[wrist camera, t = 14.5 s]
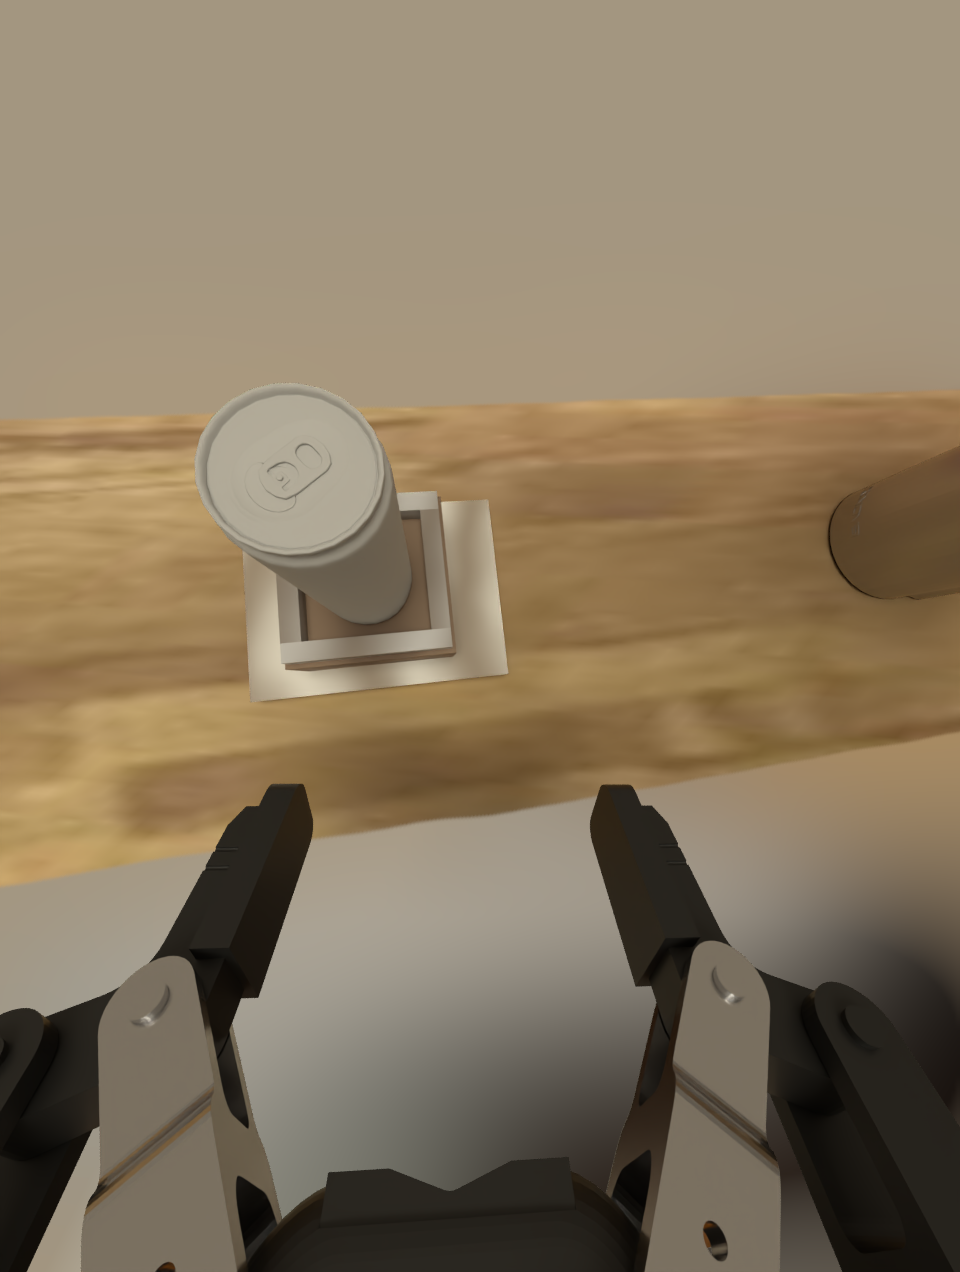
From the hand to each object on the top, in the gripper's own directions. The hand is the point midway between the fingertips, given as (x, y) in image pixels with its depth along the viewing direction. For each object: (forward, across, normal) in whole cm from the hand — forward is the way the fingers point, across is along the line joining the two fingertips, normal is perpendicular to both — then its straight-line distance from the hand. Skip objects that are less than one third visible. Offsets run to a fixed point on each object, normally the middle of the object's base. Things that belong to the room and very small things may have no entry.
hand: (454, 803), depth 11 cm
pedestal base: (+18, +5, +2) cm, 19 cm away
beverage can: (+14, +5, 0) cm, 14 cm away
